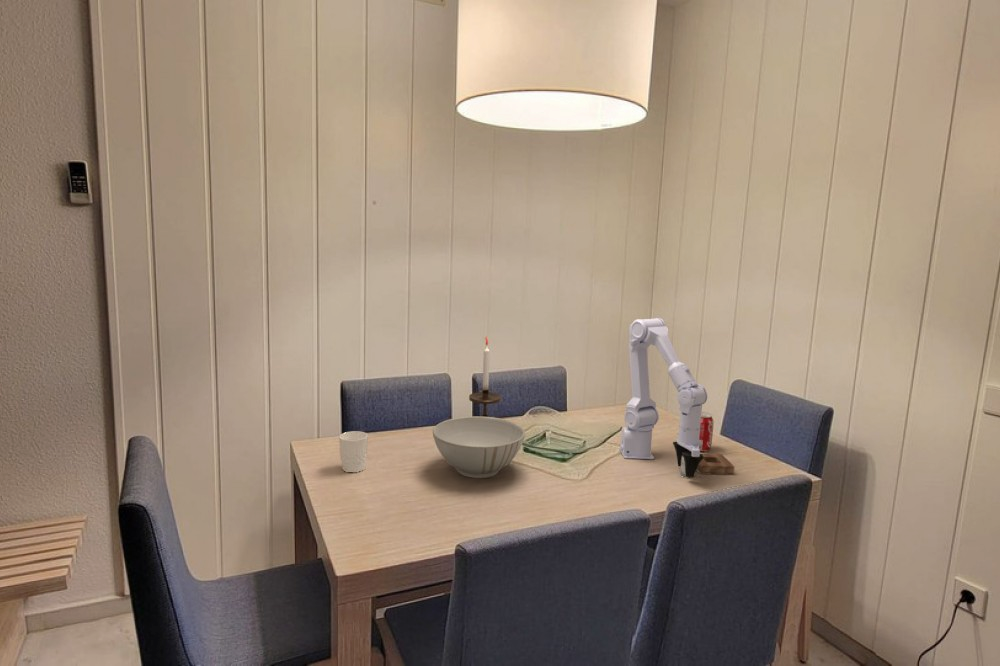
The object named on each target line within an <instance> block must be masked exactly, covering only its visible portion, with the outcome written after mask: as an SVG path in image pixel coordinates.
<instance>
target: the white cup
mask: <svg viewBox="0 0 1000 666" xmlns="http://www.w3.org/2000/svg"><path fill="white" fill-rule="evenodd" d="M339 452H340V460H341V470H342V469H343V470H344V471H347V472H357V473H360V472H359V471H361V472H363V471H364V469H365V470H366V466H367V464H366V463H367V456H368V433H367V432H364V431H359V430H358V431H355V430H354V431H346V432H343V433H341V434H340V435H339ZM343 470H342V471H343ZM362 470H363V471H362ZM344 471H343V472H344ZM347 472H346V473H347Z"/></svg>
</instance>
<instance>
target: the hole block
mask: <svg viewBox="0 0 1000 666" xmlns="http://www.w3.org/2000/svg"><path fill="white" fill-rule="evenodd" d="M701 454H702V455H703V459H702V460H701V462H700V463H699V465H698V467H697V469H696V471H697V470H698V471H699V472H700V473H711V474H710V475H729V474H734V475H735V465H733V464H732V462H730V461H729V460H728V459H727V458H726V457H725V456H724V454H721V453H701ZM698 471H697V472H698ZM699 472H698V473H699ZM700 473H699V474H700Z"/></svg>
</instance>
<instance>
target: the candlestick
mask: <svg viewBox="0 0 1000 666" xmlns="http://www.w3.org/2000/svg"><path fill="white" fill-rule="evenodd" d="M484 339H485V349H483V367H482V369H483V370H482V372H483V374H482V377H483V378H482V387H480V388H479V390H480V392H478V391H477V392H474V393H473V392H472V393H471V394H469V397H468V400H469V401H470V402H472V403H475V404H479V405H480V404H481V405H482V414H480V416H482V417H490V415H489V414H488V405H490V404H491V405H493V404H497V403H500V402H501V401H502V395H501V394H499V393H496V392H491V390H492V388H491V387H489V381H490V379H489V378H490V377H489V376H490V349H489V347H488V344H489V341H488V338H487V335H486V336H485V338H484ZM489 391H490V392H489Z"/></svg>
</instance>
